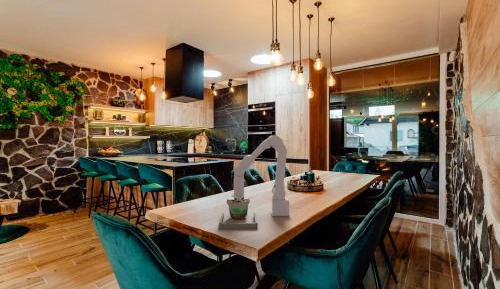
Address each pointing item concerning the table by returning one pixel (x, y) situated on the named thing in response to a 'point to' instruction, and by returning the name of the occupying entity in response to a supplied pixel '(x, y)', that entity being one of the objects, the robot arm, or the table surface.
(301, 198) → the table surface
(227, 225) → the dock
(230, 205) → the food container
